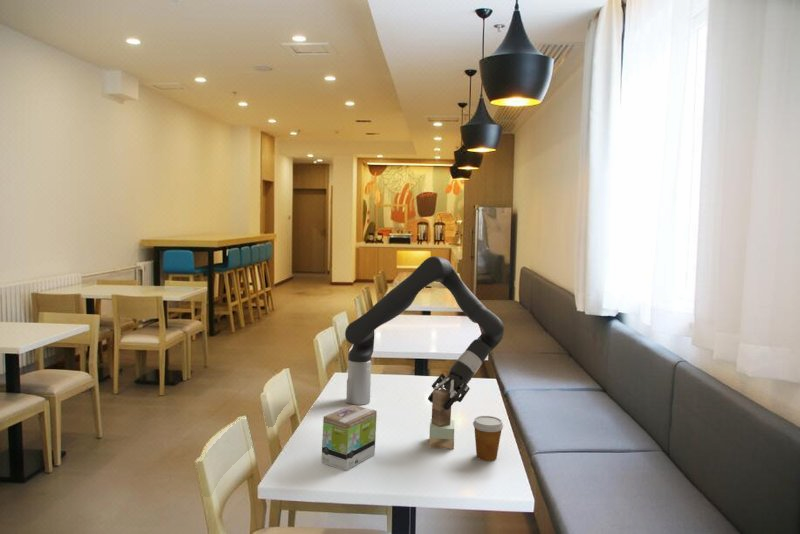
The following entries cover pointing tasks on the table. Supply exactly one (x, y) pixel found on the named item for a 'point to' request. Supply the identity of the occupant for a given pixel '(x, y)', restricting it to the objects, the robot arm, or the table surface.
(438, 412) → the walnut pillar
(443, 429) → the sage slab
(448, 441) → the oak slab
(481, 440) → the disposable coffee cup
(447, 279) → the robot arm
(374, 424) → the tea box
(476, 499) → the table surface
